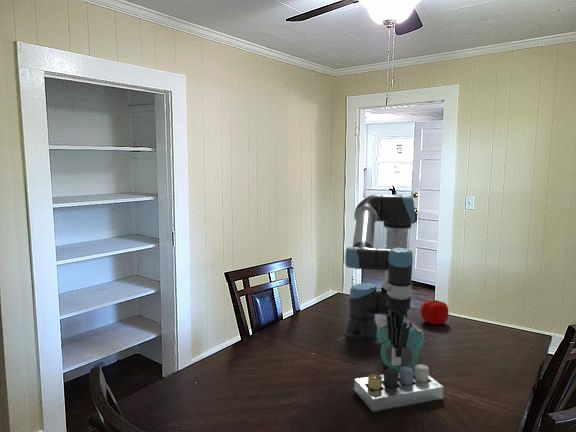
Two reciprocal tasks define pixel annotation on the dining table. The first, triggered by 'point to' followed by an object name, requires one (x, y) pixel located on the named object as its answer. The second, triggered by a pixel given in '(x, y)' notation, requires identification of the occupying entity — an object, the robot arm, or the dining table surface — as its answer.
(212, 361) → the dining table surface
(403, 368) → the blue ovoid
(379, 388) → the gold rounded cylinder
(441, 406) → the dining table surface
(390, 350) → the alarm clock
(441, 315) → the tomato
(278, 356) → the dining table surface
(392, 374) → the black rounded cylinder
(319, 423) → the dining table surface
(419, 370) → the white egg
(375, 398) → the white socket board
